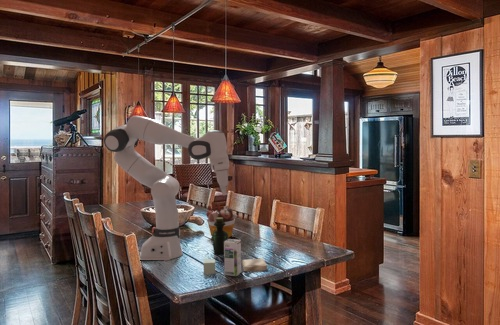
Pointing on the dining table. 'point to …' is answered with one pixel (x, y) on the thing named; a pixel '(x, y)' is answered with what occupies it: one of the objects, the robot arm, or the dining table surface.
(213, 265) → the sage cube
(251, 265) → the maple board
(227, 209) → the bucket of meat
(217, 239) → the potion bottle
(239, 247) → the syrup box
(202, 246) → the dining table surface
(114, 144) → the robot arm
